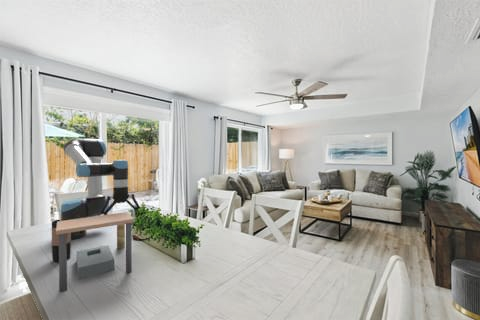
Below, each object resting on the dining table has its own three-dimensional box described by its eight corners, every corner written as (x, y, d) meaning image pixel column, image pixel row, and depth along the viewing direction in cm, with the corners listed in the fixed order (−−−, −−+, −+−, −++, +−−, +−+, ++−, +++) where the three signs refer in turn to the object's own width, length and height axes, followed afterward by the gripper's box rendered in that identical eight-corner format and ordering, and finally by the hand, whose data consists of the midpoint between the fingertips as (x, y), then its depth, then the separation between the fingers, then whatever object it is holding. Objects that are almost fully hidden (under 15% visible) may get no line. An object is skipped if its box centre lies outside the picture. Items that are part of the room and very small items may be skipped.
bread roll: (130, 236, 148) (132, 228, 148) (148, 235, 155) (149, 228, 155) (134, 242, 139) (135, 234, 139) (152, 241, 146) (154, 233, 146)
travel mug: (60, 263, 111) (60, 223, 110) (47, 262, 112) (47, 222, 112) (74, 256, 118) (74, 219, 118) (62, 255, 120) (62, 218, 119)
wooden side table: (57, 276, 99) (57, 221, 99) (127, 259, 116) (127, 211, 116) (56, 293, 88) (55, 230, 87) (133, 271, 105) (133, 218, 104)
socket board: (76, 261, 114) (76, 251, 113) (108, 254, 122) (108, 245, 122) (78, 279, 98) (77, 268, 98) (114, 269, 106) (114, 259, 106)
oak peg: (116, 247, 131) (116, 223, 130) (124, 245, 133) (124, 222, 133) (117, 249, 128) (117, 225, 127) (125, 248, 130) (125, 224, 130)
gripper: (95, 189, 119) (96, 229, 119) (145, 185, 134) (145, 220, 134) (94, 187, 125) (94, 225, 125) (142, 184, 140) (142, 218, 140)
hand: (121, 223), depth 130 cm, fingers open, 13 cm apart
